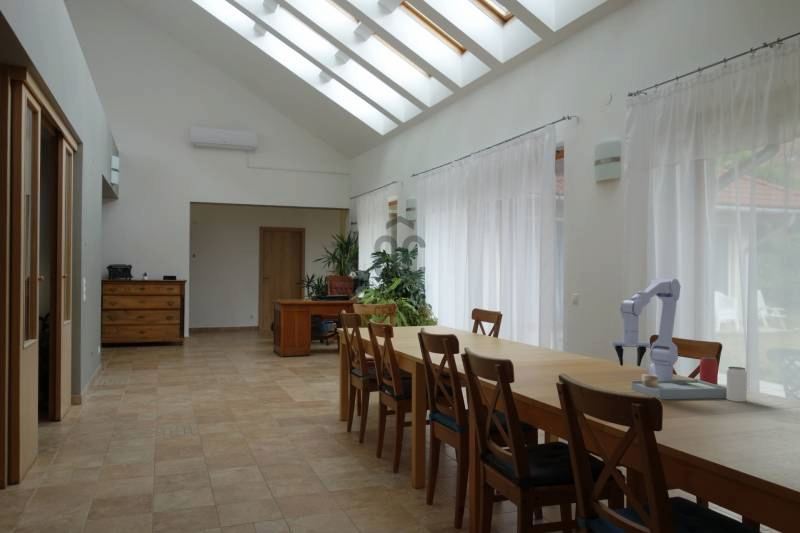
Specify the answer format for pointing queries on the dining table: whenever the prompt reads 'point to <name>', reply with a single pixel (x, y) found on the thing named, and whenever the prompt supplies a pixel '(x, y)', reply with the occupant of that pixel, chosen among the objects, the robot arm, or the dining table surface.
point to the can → (736, 384)
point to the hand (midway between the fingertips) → (629, 365)
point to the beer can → (709, 370)
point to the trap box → (682, 389)
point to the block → (649, 380)
